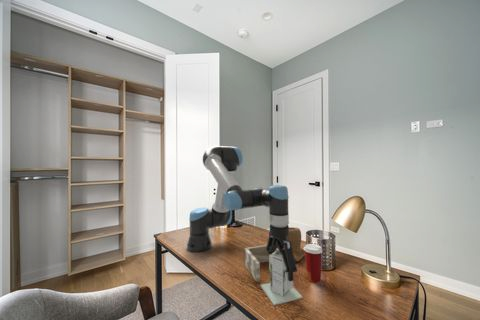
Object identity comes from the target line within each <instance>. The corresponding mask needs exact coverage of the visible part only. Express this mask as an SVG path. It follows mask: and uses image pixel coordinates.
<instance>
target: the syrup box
mask: <svg viewBox="0 0 480 320" xmlns="http://www.w3.org/2000/svg"><path fill="white" fill-rule="evenodd" d="M285 270H287V269H286V266H285V263H284V260H283V257H282V254H281V253H280V252H279V249H277V251H275V252H274V253H272V254H271V255H270V270H269V273H270V275H269V276H270V279H269V280H270V282H269V283H270V290H271V291H273V292H275V293H277V294H279V295H281V296H284V295H285V294H286V293H287V292H288V291H289V290H290V289H288V290H287V289H286V277H285Z"/></svg>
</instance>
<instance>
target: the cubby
mask: <svg viewBox="0 0 480 320" xmlns="http://www.w3.org/2000/svg"><path fill="white" fill-rule="evenodd" d="M266 247H267V244H263V245H258V246H251V247H244V249H243V256H244V257H243V259H244V260H243V261H244V262H243V264H244V266H245V267H246V269H247V270H248V272H249V273H250V275H251V276H252V278H253V279H254V281H255V282H256V283H259V282H260V281H261V275H260V273H261V272H260V271H261V269H260V268H261V265H260V264H261V263H267V262H268V263H269V254H268V251H267V250H266ZM277 250H278V248H277V249H276V250H275V251H277Z"/></svg>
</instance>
